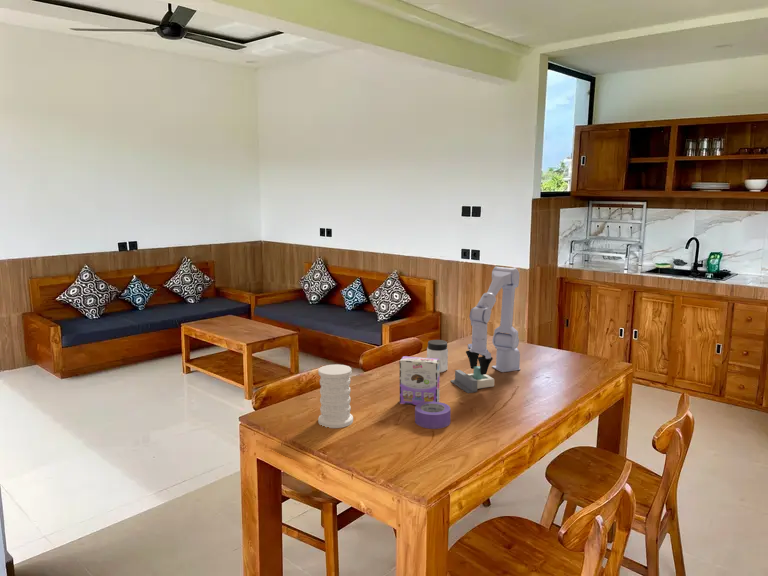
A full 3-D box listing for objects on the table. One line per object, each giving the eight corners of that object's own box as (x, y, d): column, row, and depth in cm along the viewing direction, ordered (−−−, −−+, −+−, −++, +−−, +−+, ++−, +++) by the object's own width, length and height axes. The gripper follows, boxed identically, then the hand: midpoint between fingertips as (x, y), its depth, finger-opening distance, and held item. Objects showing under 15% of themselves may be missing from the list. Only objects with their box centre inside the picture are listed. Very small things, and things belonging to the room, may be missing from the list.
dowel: (471, 383, 233) (472, 366, 232) (479, 382, 234) (480, 365, 233) (475, 386, 230) (476, 369, 229) (484, 385, 231) (484, 368, 230)
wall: (459, 380, 237) (459, 369, 236) (477, 391, 224) (477, 380, 223) (450, 381, 236) (450, 370, 235) (467, 393, 223) (468, 381, 222)
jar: (437, 374, 245) (437, 346, 243) (422, 369, 251) (423, 342, 249) (451, 369, 251) (451, 342, 249) (436, 365, 257) (437, 338, 255)
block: (482, 379, 238) (482, 372, 237) (494, 386, 230) (494, 378, 229) (462, 381, 235) (462, 374, 234) (473, 389, 227) (474, 381, 226)
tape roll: (408, 424, 195) (408, 410, 194) (424, 412, 205) (424, 398, 204) (441, 432, 189) (441, 417, 188) (456, 419, 199) (456, 405, 198)
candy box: (439, 401, 214) (440, 358, 212) (436, 407, 209) (437, 362, 206) (402, 398, 218) (403, 355, 215) (398, 403, 213) (399, 359, 210)
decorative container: (341, 430, 189) (341, 377, 186) (311, 424, 195) (310, 371, 191) (359, 418, 200) (358, 367, 196) (330, 412, 205) (329, 362, 202)
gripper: (461, 334, 234) (460, 367, 237) (480, 343, 221) (479, 378, 223) (476, 332, 237) (475, 365, 239) (496, 341, 223) (495, 376, 226)
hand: (478, 371), depth 231 cm, fingers open, 7 cm apart
